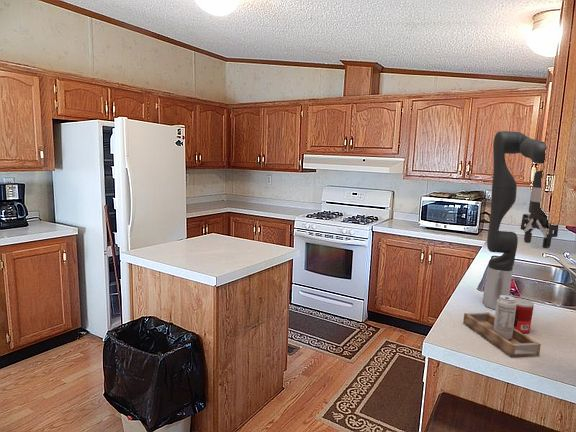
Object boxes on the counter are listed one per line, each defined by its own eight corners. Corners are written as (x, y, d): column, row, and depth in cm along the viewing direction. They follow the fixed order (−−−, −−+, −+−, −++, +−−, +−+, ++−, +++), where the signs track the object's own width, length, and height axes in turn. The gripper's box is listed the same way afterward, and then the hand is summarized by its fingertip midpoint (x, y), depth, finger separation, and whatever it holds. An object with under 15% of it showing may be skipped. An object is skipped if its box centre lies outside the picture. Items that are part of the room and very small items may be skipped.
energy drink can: (512, 337, 141) (517, 296, 139) (511, 343, 136) (516, 301, 134) (493, 332, 144) (498, 293, 142) (491, 338, 139) (496, 297, 137)
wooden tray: (463, 323, 154) (464, 313, 153) (487, 322, 156) (488, 312, 155) (510, 357, 129) (512, 345, 128) (539, 355, 131) (540, 344, 130)
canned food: (532, 329, 150) (536, 302, 149) (526, 336, 145) (530, 307, 143) (510, 323, 156) (514, 296, 154) (503, 328, 150) (507, 301, 148)
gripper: (568, 203, 134) (561, 250, 137) (536, 198, 148) (530, 240, 151) (549, 203, 133) (542, 250, 136) (518, 198, 147) (512, 240, 150)
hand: (536, 245), depth 143 cm, fingers open, 8 cm apart
